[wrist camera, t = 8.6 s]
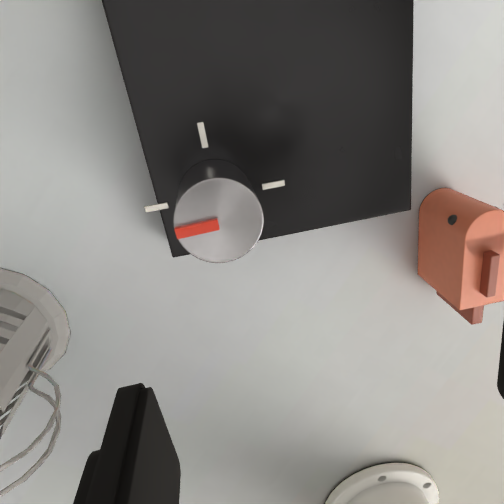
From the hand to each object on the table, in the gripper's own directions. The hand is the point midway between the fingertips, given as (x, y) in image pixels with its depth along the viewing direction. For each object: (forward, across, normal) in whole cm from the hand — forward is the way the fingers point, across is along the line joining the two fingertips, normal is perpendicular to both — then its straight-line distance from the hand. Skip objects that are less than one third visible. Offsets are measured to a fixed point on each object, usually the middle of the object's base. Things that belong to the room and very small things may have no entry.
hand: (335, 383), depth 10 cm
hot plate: (+18, -2, -6) cm, 19 cm away
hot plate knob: (+15, +2, -2) cm, 16 cm away
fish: (+18, -14, +6) cm, 23 cm away
